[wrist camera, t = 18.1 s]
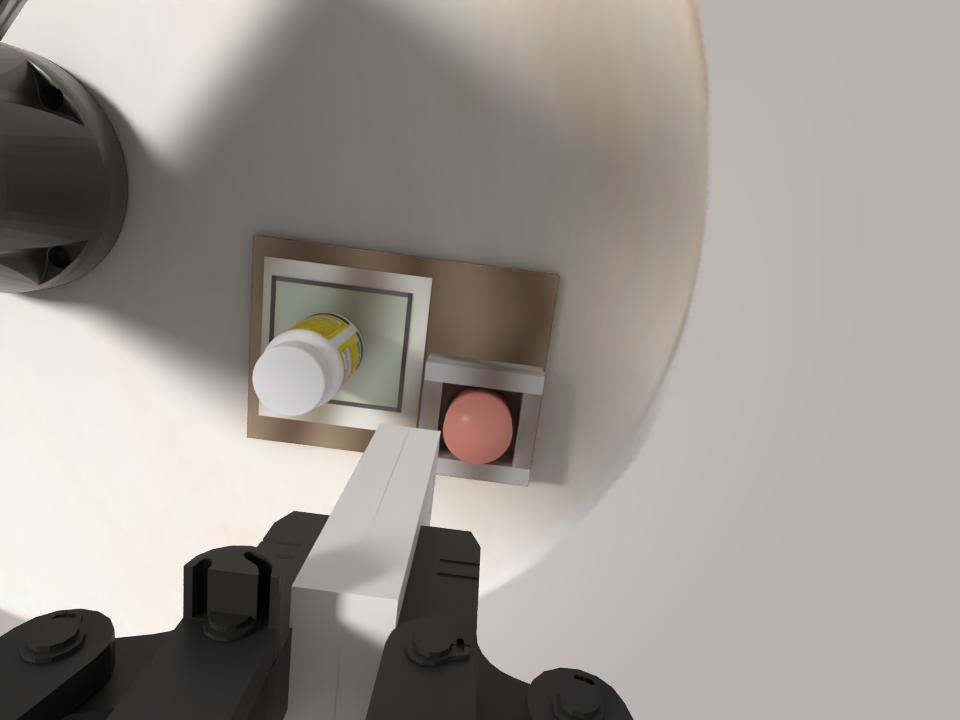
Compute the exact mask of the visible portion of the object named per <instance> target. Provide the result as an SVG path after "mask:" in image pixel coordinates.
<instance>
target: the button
mask: <svg viewBox="0 0 960 720" xmlns="http://www.w3.org/2000/svg"><path fill="white" fill-rule="evenodd" d="M443 437H444V441H445V443H446V445H447V447H448V449H449V450H450V451H451V452H452V454H453V455H455V456H456V457H457V458H459V459H460V460H462V461H465V462H468V463H472V464H484V463H488V462H491V461H494V460H496V459H497V458H499V457H500V456H501V455H502V454H503V453H504V452H505V451H506V450H507V448H508V447H509V445H510V442H511V439H512V417H511V409H510V406H509V403H508V401H507V400H506V398H505V397H504V396H503V395H502V394H501V393H500V392H499V391H497V390H496V389H490V388H482V387H475V386H468V387H466V388H463V389H462V390H460V391H459V392H457V393H456V394H455V395H454V396H453V398H452V399H451V401H450V403H449V405H448V408H447V412H446V416H445V420H444V425H443Z"/></svg>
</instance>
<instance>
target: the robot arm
mask: <svg viewBox="0 0 960 720" xmlns="http://www.w3.org/2000/svg"><path fill="white" fill-rule="evenodd" d="M26 2H27V0H0V41H1V39H2V38H3V36H4V35H5V33H6V32H7V30H8V29H9V27H10V26H11V24H12V23H13V21H14V20H15V18H16V17H17V15H18V14H19V12H20V11H21V9H22V8H23V6H24V5H25V3H26ZM127 197H128V183H127V172H126V166H125V161H124V157H123V153H122V150H121V147H120V144H119V141H118V139H117V136H116V134H115V132H114V130H113V127H112V125H111V123H110V122H109V120H108V118H107V116H106V115H105V113H104V112H103V110H102V109H101V107H100V106H99V104H98V103H97V102H96V100H95V99H94V98H93V97H92V96H91V94H90V93H89V92H88V91H87V90H86V89H85V88H84V87H83V86H82V85H81V84H80V83H79V82H78V81H77V80H76V79H75V78H74V77H72V76H71V75H70V74H69V73H67V72H66V71H65V70H63V69H62V68H60V67H59V66H57V65H56V64H54V63H52V62H51V61H49V60H47V59H45V58H43V57H41V56H39V55H37V54H34V53H32V52H29V51H26V50H23V49H20V48H17V47H14V46H11V45H8V44H5V43H2V42H0V292H4V293H18V292H28V291H35V290H40V289H46V288H52V287H56V286H60V285H63V284H67V283H69V282H71V281H74V280H76V279H78V278H80V277H82V276H83V275H85V274H86V273H88V272H89V271H90V270H92V269H93V268H94V267H95V266H96V265H98V264H99V263H100V262H101V261H102V259H103V258H104V257H105V256H106V255H107V253H108V252H109V251H110V249H111V248H112V246H113V245H114V243H115V241H116V239H117V237H118V235H119V232H120V230H121V227H122V224H123V221H124V217H125V213H126V207H127ZM440 433H441V431H435V430H427V429H419V428H412V427H404V426H396V425H388V424H381V423H380V424H379V426H378V428H377V430H376V432H375V434H374V435H373V437H372V439H371V441H370V443H369V445H368V447H367V448H366V450H365V452H364V454H363V456H362V458H361V459H360V461H359V463H358V465H357V467H356V469H355V470H354V472H353V474H352V476H351V478H350V480H349V481H348V483H347V485H346V487H345V489H344V491H343V493H342V494H341V496H340V498H339V500H338V502H337V504H336V505H335V507H334V509H333V511H332V513H331V515H330V516H329V515H322V514H314V513H306V512H298V511H293V512H292V513H290V514H288V515H287V516H285V517H283V518H282V519H280V520H278V521H277V522H275V523H274V524H273V525H272V527H271V528H270V530H269V531H268V533H267V534H266V535H265V537H264V538H263V542H262V541H261V542H260V544H259V545H258V547H253V546H227V547H222V548H217V549H212V550H210V551H207V552H205V553H203V554H200V555H198V556H196V557H195V558H193V559H192V560H191V561H189V562H188V563H187V564H186V565H184V606H183V619H182V620H181V621H180V623H179V624H178V625H177V627H176V628H175V629H174V630H172V631H169V632H163V633H157V634H151V635H141V636H131V637H122V638H115V633H114V627H113V625H112V622H111V619H110V618H108V617H106V616H105V615H103V614H102V613H100V612H98V611H92V610H85V609H72V610H61V611H56V612H52V613H49V614H45V615H42V616H38V617H35V618H33V619H31V620H29V621H27V622H25V623H23V624H21V625H19V626H17V627H15V628H13V629H12V630H10V631H9V632H7V633H6V634H4V635H2V636H1V637H0V720H283V719H284V720H633V718H632V716H631V714H630V712H629V711H628V709H627V707H626V705H625V703H624V702H623V700H622V699H621V698H620V696H619V695H618V694H617V693H616V691H615V690H614V689H613V688H612V687H611V686H609V685H608V684H607V683H605V682H604V681H603V680H601V679H599V678H598V677H597V676H594V675H592V674H589V673H587V672H584V671H581V670H578V669H569V668H557V669H553V670H548V671H544V672H543V673H542V674H540V675H539V676H538V677H536V678H535V679H534V680H533V681H532V683H531V684H528V683H525V682H523V681H521V680H518V679H516V678H513V677H511V676H509V675H507V674H505V673H503V672H501V671H500V670H499V669H497V668H496V667H495V666H493V665H492V664H491V663H490V662H489V661H488V660H487V659H486V658H485V657H484V655H483V654H482V652H481V650H480V648H479V646H478V644H477V635H476V630H477V610H478V589H479V569H480V567H479V566H480V548H481V547H480V546H479V544H478V542H477V541H476V539H475V538H474V536H473V534H472V533H471V532H469V531H461V530H453V529H446V528H438V527H430V518H431V510H432V501H433V493H434V484H435V476H436V467H437V459H438V450H439V442H440Z"/></svg>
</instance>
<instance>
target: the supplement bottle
mask: <svg viewBox="0 0 960 720" xmlns="http://www.w3.org/2000/svg"><path fill="white" fill-rule="evenodd" d="M363 351H364V347H363V340H362V337H361V335H360V333H359V331H358V329H357V328H356V327H355V326H354V324H352V323H351V322H350V321H349V320H348V319H346V318H345V317H343V316H341V315H339V314H335V313H330V312H322V313H317V314H314V315H311V316H309V317H307V318H306V319H304V320H302V321H301V322H299V323H297V324H296V325H294V326H293V327H291V328H289V329H288V330H286V331H284V332H283V333H281V334H279V335H278V336H276V337H275V338H274V339H273V340H272V341H271V342H270V343H269V345H268V346H267V347H266V349H265V351H264V354H263V355H262V356H261V357H260V358H259V359H258V361H257V362H256V364H255V367H254V370H253V376H252V380H253V387H254V390H255V392H256V394H257V396H258V398H259V399H260V401H261V402H262V403H263V404H264V405H265V406H266V407H267V408H269V409H270V410H272V411H274V412H276V413H278V414H281V415H286V416H298V415H302V414H305V413H307V412H309V411H311V410H312V409H314V408H315V407H319V406H321V405H323V404H325V403H327V402H328V401H330V400H331V399H332V398H333V397H334V396H335V395H336V394H337V393H338V391H339V390H340V389H341V388H342V387H343V385H344V384H345V383H346V382H347V381H348V379H349V378H350V377H351V376H352V374H353V373H354V372H355V371H356V369H357V368H358V367H359V365H360V363H361V361H362V357H363Z"/></svg>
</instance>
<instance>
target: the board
mask: <svg viewBox="0 0 960 720" xmlns="http://www.w3.org/2000/svg"><path fill="white" fill-rule="evenodd" d="M559 277H560V276H559V275H556V274H548V273H540V272H533V271H525V270H517V269H510V268H502V267H494V266H487V265H479V264H471V263H463V262H456V261H448V260H440V259H433V258H425V257H417V256H410V255H402V254H394V253H387V252H379V251H371V250H364V249H356V248H348V247H341V246H333V245H325V244H317V243H310V242H302V241H294V240H287V239H279V238H271V237H264V236H253V266H252V297H251V327H250V357H249V387H248V418H247V437H249V438H256V439H264V440H272V441H280V442H287V443H295V444H303V445H311V446H319V447H326V448H334V449H342V450H350V451H357V452H365V450H366V448H367V447H368V445H369V443H370V441H371V439H372V437H373V435H374V434H375V432H376V430H377V428H378V426H379V424H380V423H381V424H388V425H396V426H404V427H412V428H419V429H427V430H435V431H441V433H440V442H439V450H438V459H437V467H436V475H443V476H451V477H459V478H466V479H474V480H482V481H490V482H497V483H505V484H513V485H521V486H528V481H529V475H530V469H531V463H532V456H533V450H534V444H535V437H536V431H537V425H538V419H539V412H540V406H541V400H542V394H543V387H544V381H545V375H544V372H545V365H546V359H547V353H548V347H549V340H550V334H551V328H552V321H553V315H554V309H555V302H556V296H557V290H558V284H559ZM322 312H330V313H335V314H339V315H341V316H343V317H345V318H346V319H348V320H349V321H350V322H351V323H352V324H354V326H355V327H356V328H357V329H358V331H359V333H360V335H361V337H362V340H363V347H364V351H363V357H362V361H361V363H360V365H359V367H358V368H357V369H356V371H355V372H354V373H353V374H352V376H351V377H350V378H349V379H348V381H347V382H346V383H345V384H344V385H343V387H342V388H341V389H340V390H339V391H338V393H337V394H336V395H335V396H334V397H333V398H332V399H331V400H330V401H328V402H327V403H325V404H323V405H321V406H319V407H315V408H314V409H312V410H311V411H309V412H307V413H305V414H302V415H298V416H286V415H281V414H278V413H276V412H274V411H272V410H270V409H269V408H267V407H266V406H265V405H264V404H263V403H262V402H261V401H260V399H259V398H258V396H257V394H256V392H255V390H254V387H253V380H252V376H253V370H254V367H255V364H256V362H257V361H258V359H259V358H260V357H261V356H262V355H263V354H264V351H265V349H266V347H267V346H268V345H269V343H270V342H271V341H272V340H273V339H274V338H275V337H276V336H278V335H279V334H281V333H283V332H284V331H286V330H288V329H289V328H291V327H293V326H294V325H296V324H297V323H299V322H301V321H302V320H304V319H306V318H307V317H309V316H311V315H314V314H317V313H322ZM468 386H475V387H482V388H490V389H496V390H497V391H499V392H500V393H501V394H502V395H503V396H504V397H505V398H506V400H507V401H508V403H509V406H510V409H511V417H512V439H511V442H510V445H509V447H508V448H507V450H506V451H505V452H504V453H503V454H502V455H501V456H500V457H499V458H497V459H496V460H494V461H491V462H488V463H484V464H472V463H468V462H465V461H462V460H460V459H459V458H457V457H456V456H455V455H453V454H452V452H451V451H450V450H449V449H448V447H447V445H446V443H445V441H444V437H443V425H444V420H445V416H446V412H447V408H448V405H449V403H450V401H451V399H452V398H453V396H454V395H455V394H456V393H457V392H459V391H460V390H462V389H463V388H466V387H468Z"/></svg>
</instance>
